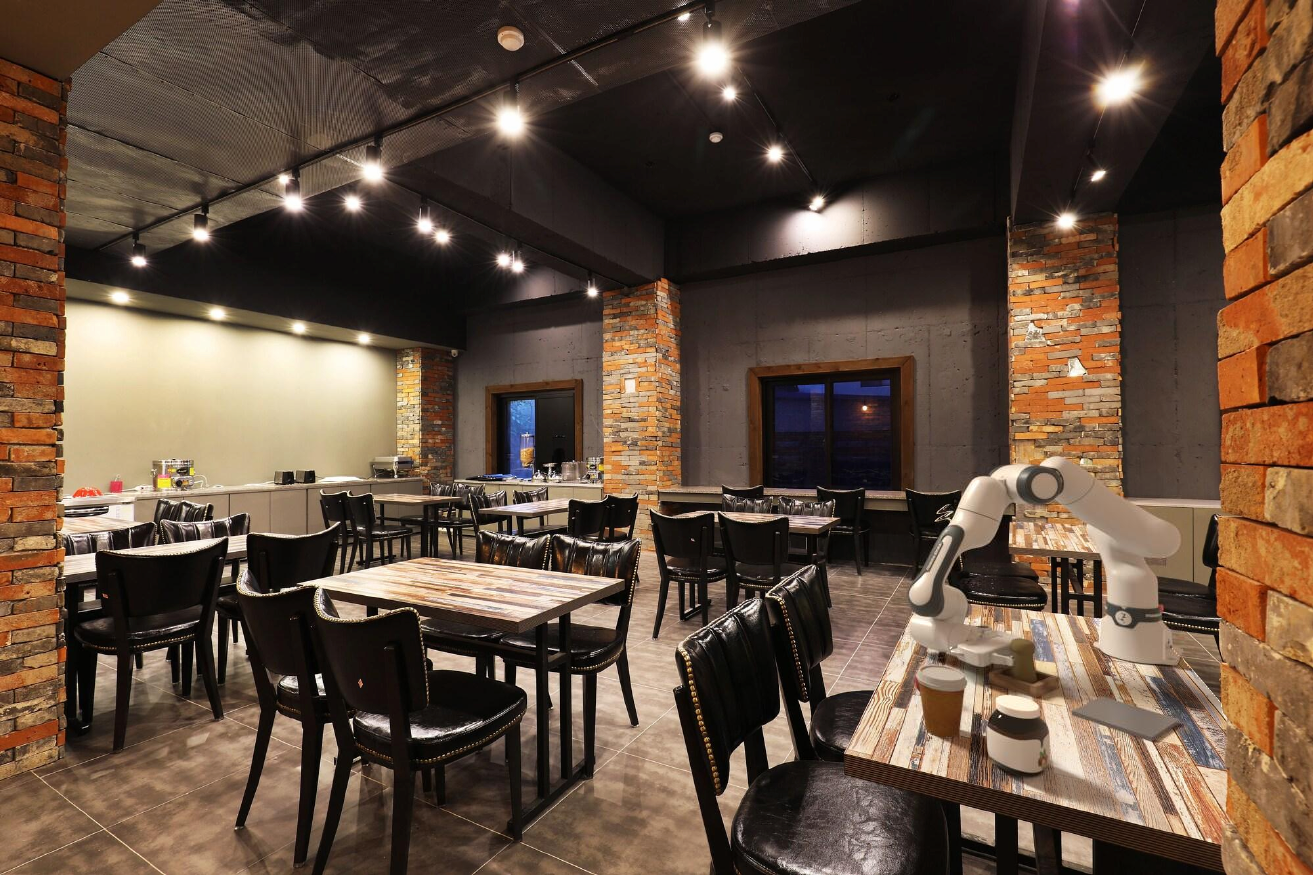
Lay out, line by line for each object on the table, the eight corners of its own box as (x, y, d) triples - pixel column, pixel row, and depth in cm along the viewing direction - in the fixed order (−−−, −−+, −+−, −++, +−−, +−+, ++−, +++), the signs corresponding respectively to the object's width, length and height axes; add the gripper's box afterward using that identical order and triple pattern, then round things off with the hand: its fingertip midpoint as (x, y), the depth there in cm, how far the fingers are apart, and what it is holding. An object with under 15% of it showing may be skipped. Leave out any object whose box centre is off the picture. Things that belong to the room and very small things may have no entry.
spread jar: (1020, 784, 103) (1018, 716, 103) (963, 753, 113) (962, 692, 114) (1064, 768, 108) (1063, 704, 108) (1006, 740, 118) (1005, 681, 118)
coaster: (1101, 699, 136) (1101, 695, 136) (1179, 723, 125) (1179, 719, 125) (1072, 714, 129) (1072, 710, 129) (1151, 741, 117) (1151, 737, 117)
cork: (1042, 690, 142) (1041, 644, 142) (1014, 689, 143) (1013, 643, 143) (1032, 681, 147) (1031, 636, 148) (1005, 679, 149) (1004, 635, 149)
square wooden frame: (1012, 673, 153) (1012, 663, 153) (1058, 687, 143) (1058, 677, 143) (989, 682, 147) (988, 672, 147) (1035, 697, 138) (1035, 687, 138)
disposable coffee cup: (966, 746, 116) (964, 684, 116) (913, 734, 121) (912, 675, 121) (970, 727, 124) (969, 669, 124) (920, 716, 129) (919, 660, 129)
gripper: (945, 637, 151) (1000, 653, 140) (989, 624, 162) (1044, 637, 150) (945, 662, 151) (1001, 680, 140) (990, 647, 162) (1045, 662, 150)
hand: (1024, 658), depth 145 cm, fingers open, 8 cm apart
